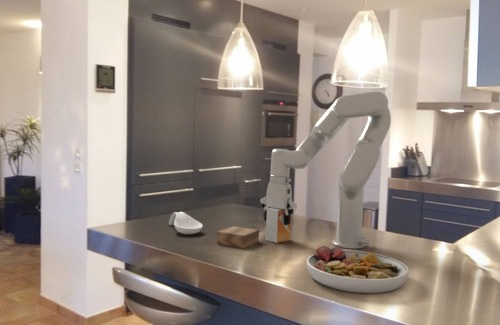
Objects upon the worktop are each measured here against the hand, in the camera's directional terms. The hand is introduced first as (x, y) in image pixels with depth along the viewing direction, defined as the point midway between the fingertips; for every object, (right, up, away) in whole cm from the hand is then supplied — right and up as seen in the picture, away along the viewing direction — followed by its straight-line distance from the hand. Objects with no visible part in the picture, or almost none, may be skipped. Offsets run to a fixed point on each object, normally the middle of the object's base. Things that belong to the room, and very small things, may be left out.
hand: (276, 222), depth 187 cm
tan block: (-15, -8, -5) cm, 18 cm away
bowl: (+21, -12, -45) cm, 51 cm away
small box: (0, -7, 0) cm, 7 cm away
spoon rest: (-40, -6, +14) cm, 42 cm away
